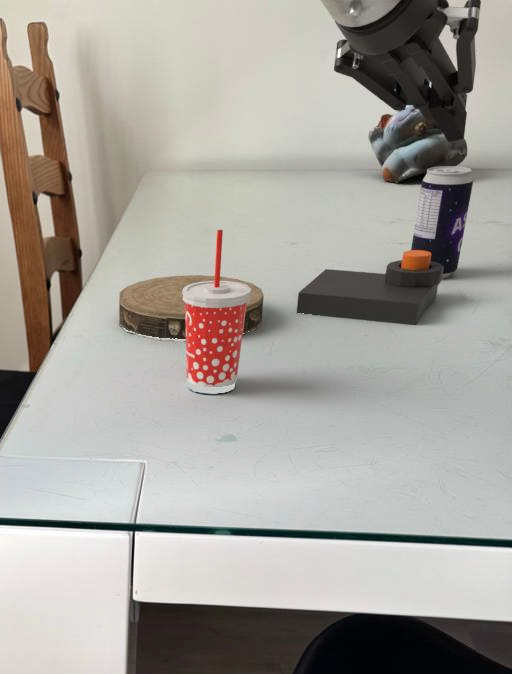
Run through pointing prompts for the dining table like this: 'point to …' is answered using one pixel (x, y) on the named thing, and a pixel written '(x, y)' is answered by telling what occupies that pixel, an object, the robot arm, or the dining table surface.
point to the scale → (372, 294)
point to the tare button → (416, 260)
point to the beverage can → (443, 215)
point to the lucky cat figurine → (412, 145)
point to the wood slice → (172, 306)
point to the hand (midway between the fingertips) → (457, 127)
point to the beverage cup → (214, 327)
